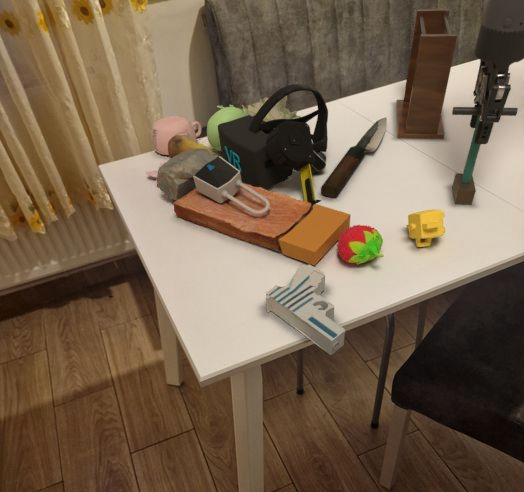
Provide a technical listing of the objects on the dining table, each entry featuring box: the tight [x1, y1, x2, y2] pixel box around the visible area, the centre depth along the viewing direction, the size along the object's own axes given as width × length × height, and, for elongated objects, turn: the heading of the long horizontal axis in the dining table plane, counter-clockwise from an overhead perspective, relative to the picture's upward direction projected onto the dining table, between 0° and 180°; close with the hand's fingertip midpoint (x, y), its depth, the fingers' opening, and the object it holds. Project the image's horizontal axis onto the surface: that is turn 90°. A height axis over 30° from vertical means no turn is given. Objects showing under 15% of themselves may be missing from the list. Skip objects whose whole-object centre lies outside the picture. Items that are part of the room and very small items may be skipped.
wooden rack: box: [395, 8, 458, 140], centre depth 110 cm, size 19×10×20 cm, turn 171°
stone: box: [156, 149, 218, 201], centre depth 97 cm, size 12×8×8 cm
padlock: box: [193, 155, 270, 215], centre depth 89 cm, size 7×4×15 cm
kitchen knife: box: [320, 117, 388, 198], centre depth 106 cm, size 36×2×5 cm
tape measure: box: [266, 121, 322, 207], centre depth 91 cm, size 15×4×8 cm
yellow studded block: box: [406, 209, 446, 248], centre depth 83 cm, size 8×6×5 cm
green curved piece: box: [206, 104, 249, 152], centre depth 109 cm, size 12×11×11 cm
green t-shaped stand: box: [451, 106, 519, 206], centre depth 88 cm, size 6×10×16 cm, turn 81°
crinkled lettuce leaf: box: [241, 95, 302, 122], centre depth 116 cm, size 16×8×15 cm
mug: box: [150, 115, 202, 156], centre depth 112 cm, size 12×10×6 cm
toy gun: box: [265, 264, 346, 356], centre depth 73 cm, size 3×14×10 cm
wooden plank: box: [173, 183, 351, 266], centre depth 90 cm, size 13×30×3 cm, turn 56°
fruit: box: [168, 135, 222, 159], centre depth 107 cm, size 6×6×12 cm
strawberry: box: [336, 224, 384, 266], centre depth 81 cm, size 6×7×10 cm
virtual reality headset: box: [218, 83, 329, 190], centre depth 100 cm, size 19×22×15 cm
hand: (478, 134), depth 86 cm, fingers open, 5 cm apart
